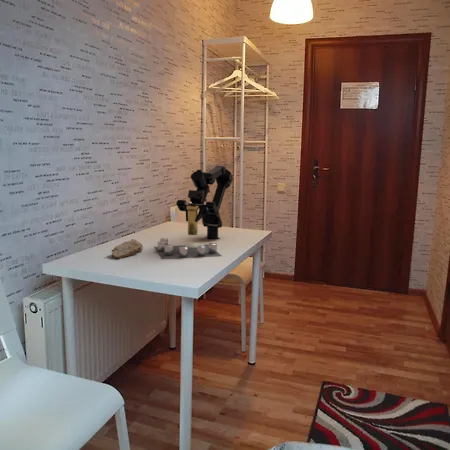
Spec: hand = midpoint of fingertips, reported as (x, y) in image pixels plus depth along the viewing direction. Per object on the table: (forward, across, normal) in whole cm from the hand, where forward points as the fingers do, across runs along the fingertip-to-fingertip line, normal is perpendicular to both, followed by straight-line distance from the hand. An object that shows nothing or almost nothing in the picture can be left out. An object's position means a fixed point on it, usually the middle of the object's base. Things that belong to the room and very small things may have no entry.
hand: (191, 221), depth 201 cm
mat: (+13, +1, +5) cm, 14 cm away
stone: (+23, -21, -5) cm, 32 cm away
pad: (+6, 0, +12) cm, 13 cm away
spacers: (+16, 0, +2) cm, 16 cm away
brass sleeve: (+3, 0, +5) cm, 6 cm away
